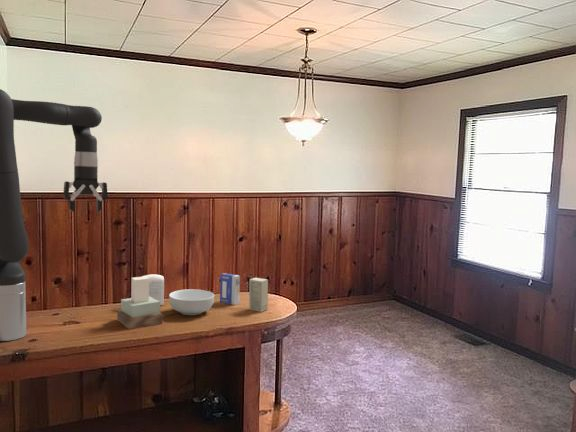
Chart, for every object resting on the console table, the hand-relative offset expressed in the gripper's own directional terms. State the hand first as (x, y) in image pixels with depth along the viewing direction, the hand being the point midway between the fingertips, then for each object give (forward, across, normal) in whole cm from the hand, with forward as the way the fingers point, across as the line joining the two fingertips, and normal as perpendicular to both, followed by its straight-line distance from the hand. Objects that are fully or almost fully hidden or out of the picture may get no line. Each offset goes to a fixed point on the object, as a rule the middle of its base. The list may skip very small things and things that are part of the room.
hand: (85, 211), depth 172 cm
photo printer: (+38, +25, +3) cm, 46 cm away
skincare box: (+38, +59, -22) cm, 74 cm away
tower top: (+34, +15, -15) cm, 40 cm away
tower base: (+38, +15, -15) cm, 44 cm away
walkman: (+38, +54, -8) cm, 67 cm away
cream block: (+30, +15, -15) cm, 37 cm away
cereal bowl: (+38, +35, -13) cm, 53 cm away
